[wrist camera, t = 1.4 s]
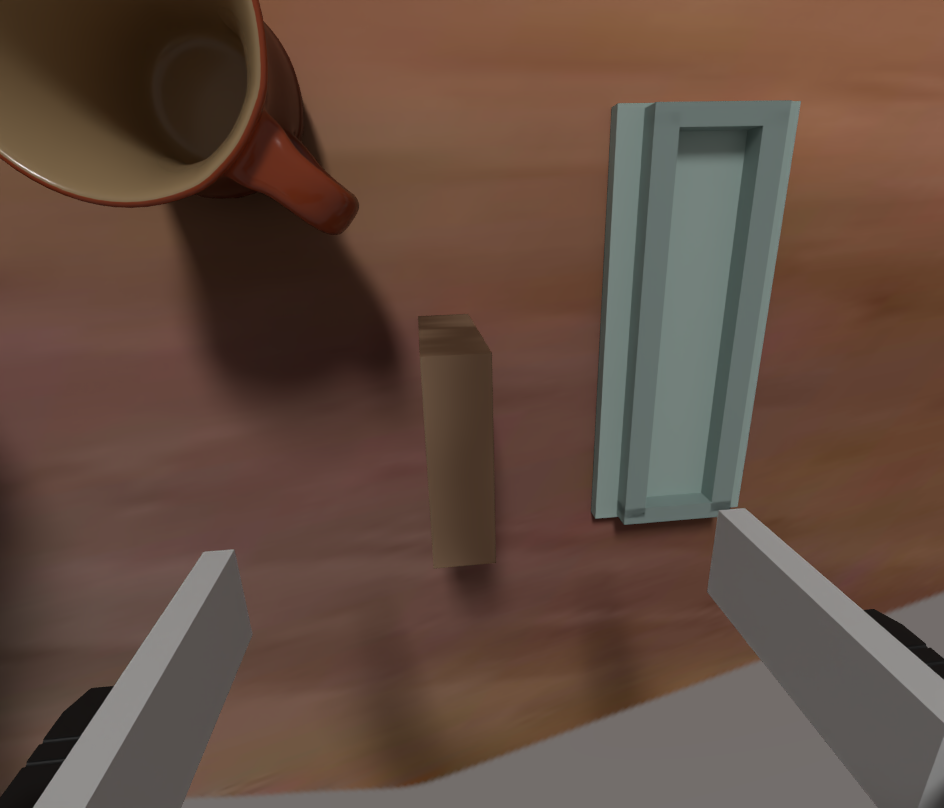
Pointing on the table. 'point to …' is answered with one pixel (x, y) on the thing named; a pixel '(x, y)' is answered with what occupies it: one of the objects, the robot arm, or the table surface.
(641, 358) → the track base
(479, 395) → the slider block
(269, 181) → the mug
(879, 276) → the table surface
